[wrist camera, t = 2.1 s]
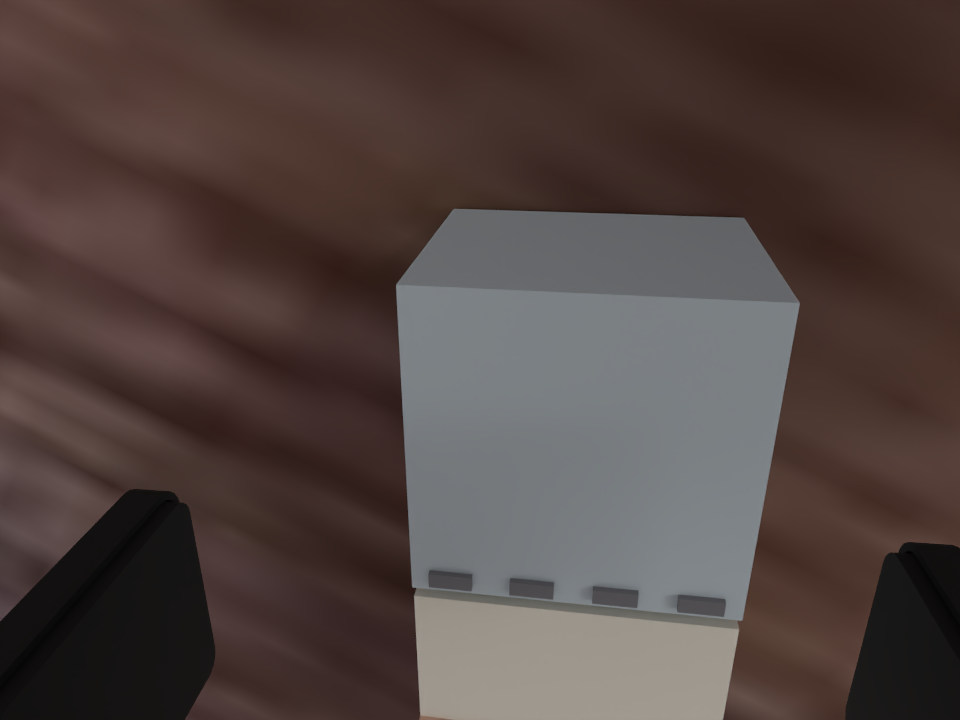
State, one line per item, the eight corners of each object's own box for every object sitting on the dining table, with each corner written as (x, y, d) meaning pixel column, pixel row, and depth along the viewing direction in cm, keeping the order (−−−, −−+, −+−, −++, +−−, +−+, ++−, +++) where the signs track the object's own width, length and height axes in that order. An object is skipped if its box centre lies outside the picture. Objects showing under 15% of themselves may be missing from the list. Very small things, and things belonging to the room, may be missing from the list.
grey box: (743, 217, 16) (801, 306, 11) (708, 468, 18) (743, 625, 13) (453, 208, 16) (394, 286, 12) (458, 449, 19) (411, 591, 14)
